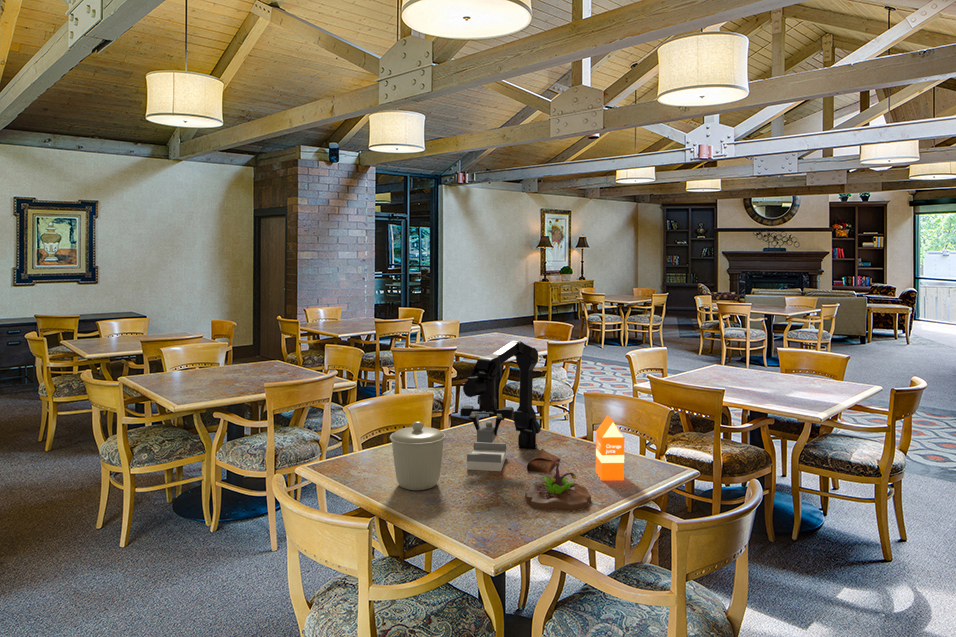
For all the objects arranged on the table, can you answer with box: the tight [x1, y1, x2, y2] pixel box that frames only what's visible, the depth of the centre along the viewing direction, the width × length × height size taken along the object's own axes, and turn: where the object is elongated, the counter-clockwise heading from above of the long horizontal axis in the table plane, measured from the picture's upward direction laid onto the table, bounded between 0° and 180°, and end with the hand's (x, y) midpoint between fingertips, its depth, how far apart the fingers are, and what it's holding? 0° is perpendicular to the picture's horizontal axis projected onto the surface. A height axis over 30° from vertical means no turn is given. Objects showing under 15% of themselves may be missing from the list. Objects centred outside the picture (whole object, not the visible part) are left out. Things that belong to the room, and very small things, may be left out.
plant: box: [524, 461, 592, 512], centre depth 193 cm, size 20×20×11 cm
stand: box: [466, 441, 507, 472], centre depth 228 cm, size 12×16×6 cm
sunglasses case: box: [526, 448, 561, 474], centre depth 226 cm, size 18×7×7 cm, turn 160°
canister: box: [389, 420, 447, 491], centre depth 204 cm, size 18×18×21 cm
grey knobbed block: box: [476, 420, 498, 443], centre depth 227 cm, size 10×6×5 cm, turn 168°
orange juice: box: [595, 415, 625, 481], centre depth 213 cm, size 8×9×20 cm
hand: (487, 435), depth 227 cm, fingers closed on grey knobbed block, 6 cm apart
